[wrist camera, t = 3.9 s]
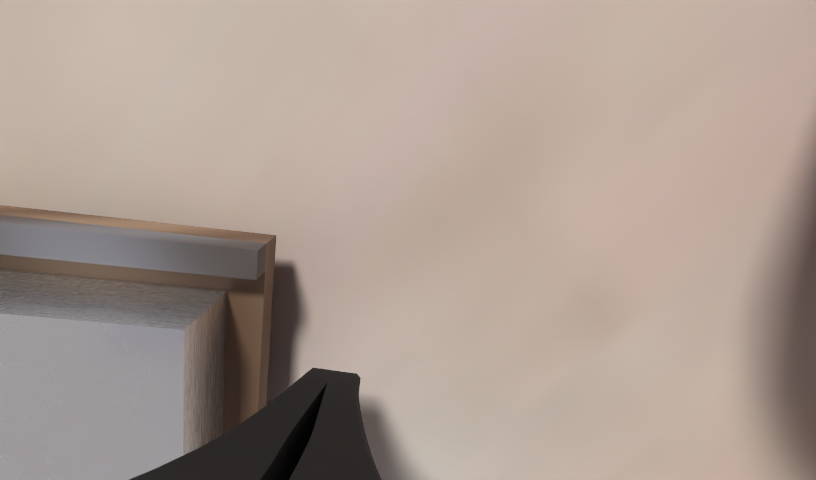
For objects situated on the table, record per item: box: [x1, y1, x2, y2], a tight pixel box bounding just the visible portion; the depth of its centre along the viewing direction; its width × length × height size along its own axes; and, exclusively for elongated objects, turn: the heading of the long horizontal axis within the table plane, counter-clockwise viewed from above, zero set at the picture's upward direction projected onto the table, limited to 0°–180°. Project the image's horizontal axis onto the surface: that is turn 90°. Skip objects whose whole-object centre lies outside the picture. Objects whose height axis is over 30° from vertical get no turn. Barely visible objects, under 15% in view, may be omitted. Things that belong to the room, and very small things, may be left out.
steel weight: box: [0, 269, 227, 480], centre depth 10 cm, size 8×5×2 cm, turn 83°
